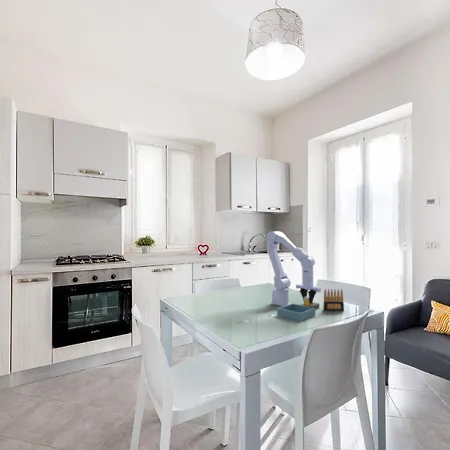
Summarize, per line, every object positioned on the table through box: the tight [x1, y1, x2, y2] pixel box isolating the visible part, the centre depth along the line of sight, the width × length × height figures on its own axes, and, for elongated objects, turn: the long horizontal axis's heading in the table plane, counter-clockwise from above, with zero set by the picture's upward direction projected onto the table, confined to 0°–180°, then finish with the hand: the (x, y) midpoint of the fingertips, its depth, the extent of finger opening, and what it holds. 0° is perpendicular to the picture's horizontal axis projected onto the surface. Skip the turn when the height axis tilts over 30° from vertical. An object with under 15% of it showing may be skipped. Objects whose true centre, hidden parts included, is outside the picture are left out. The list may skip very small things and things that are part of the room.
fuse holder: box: [300, 301, 320, 310], centre depth 162 cm, size 6×14×3 cm, turn 133°
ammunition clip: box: [323, 288, 345, 312], centre depth 160 cm, size 11×2×12 cm, turn 85°
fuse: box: [303, 295, 312, 306], centre depth 163 cm, size 3×4×7 cm
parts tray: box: [276, 303, 316, 323], centre depth 151 cm, size 14×14×4 cm
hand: (308, 302), depth 163 cm, fingers closed on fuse, 3 cm apart
